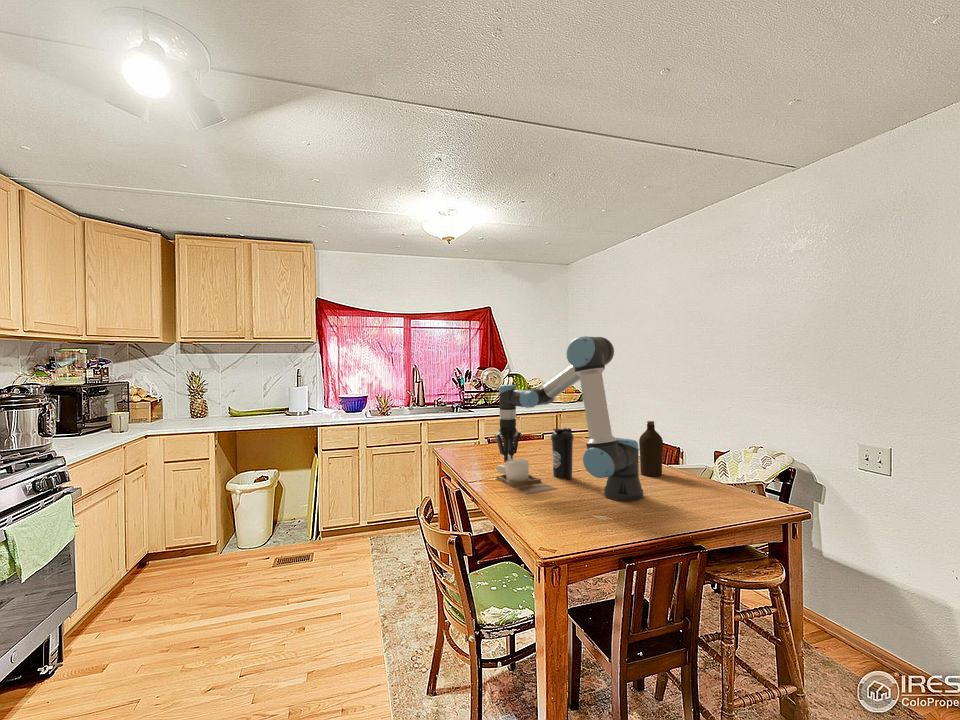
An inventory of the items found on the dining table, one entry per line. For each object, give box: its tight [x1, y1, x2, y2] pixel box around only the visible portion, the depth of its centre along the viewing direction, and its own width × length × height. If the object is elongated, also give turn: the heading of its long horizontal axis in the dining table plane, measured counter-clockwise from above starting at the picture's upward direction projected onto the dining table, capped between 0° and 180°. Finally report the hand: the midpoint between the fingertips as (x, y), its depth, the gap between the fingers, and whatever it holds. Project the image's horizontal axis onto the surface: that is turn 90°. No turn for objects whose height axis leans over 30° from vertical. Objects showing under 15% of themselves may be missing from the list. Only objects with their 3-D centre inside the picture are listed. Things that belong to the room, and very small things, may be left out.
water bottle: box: [550, 427, 574, 481], centre depth 219 cm, size 10×10×23 cm
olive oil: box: [638, 420, 664, 478], centre depth 223 cm, size 11×11×25 cm
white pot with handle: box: [496, 458, 530, 483], centre depth 213 cm, size 18×10×9 cm, turn 38°
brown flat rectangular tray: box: [496, 473, 558, 495], centre depth 207 cm, size 27×15×2 cm, turn 26°
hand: (508, 469), depth 219 cm, fingers closed
